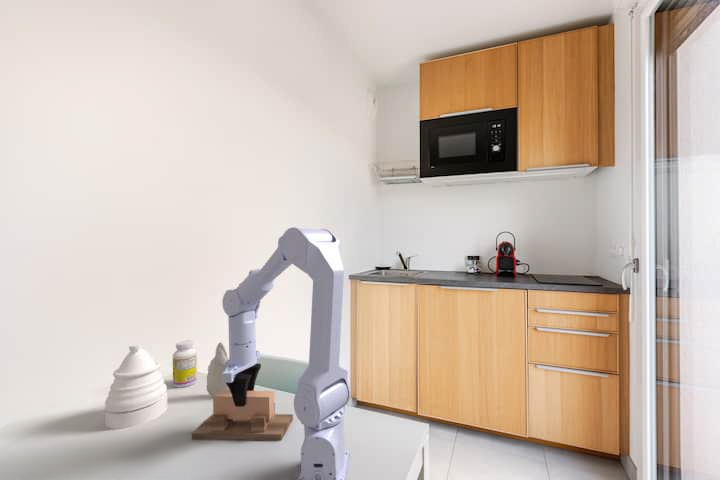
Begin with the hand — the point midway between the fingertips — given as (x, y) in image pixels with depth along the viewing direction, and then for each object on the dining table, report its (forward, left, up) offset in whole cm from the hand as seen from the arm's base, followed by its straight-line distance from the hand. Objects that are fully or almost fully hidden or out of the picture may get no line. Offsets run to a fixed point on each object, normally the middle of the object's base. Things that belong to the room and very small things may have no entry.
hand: (243, 401), depth 71 cm
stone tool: (+16, +15, -6) cm, 23 cm away
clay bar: (0, 0, -3) cm, 3 cm away
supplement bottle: (+24, +30, -6) cm, 39 cm away
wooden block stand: (0, 0, -6) cm, 6 cm away
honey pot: (+6, +31, -6) cm, 32 cm away
